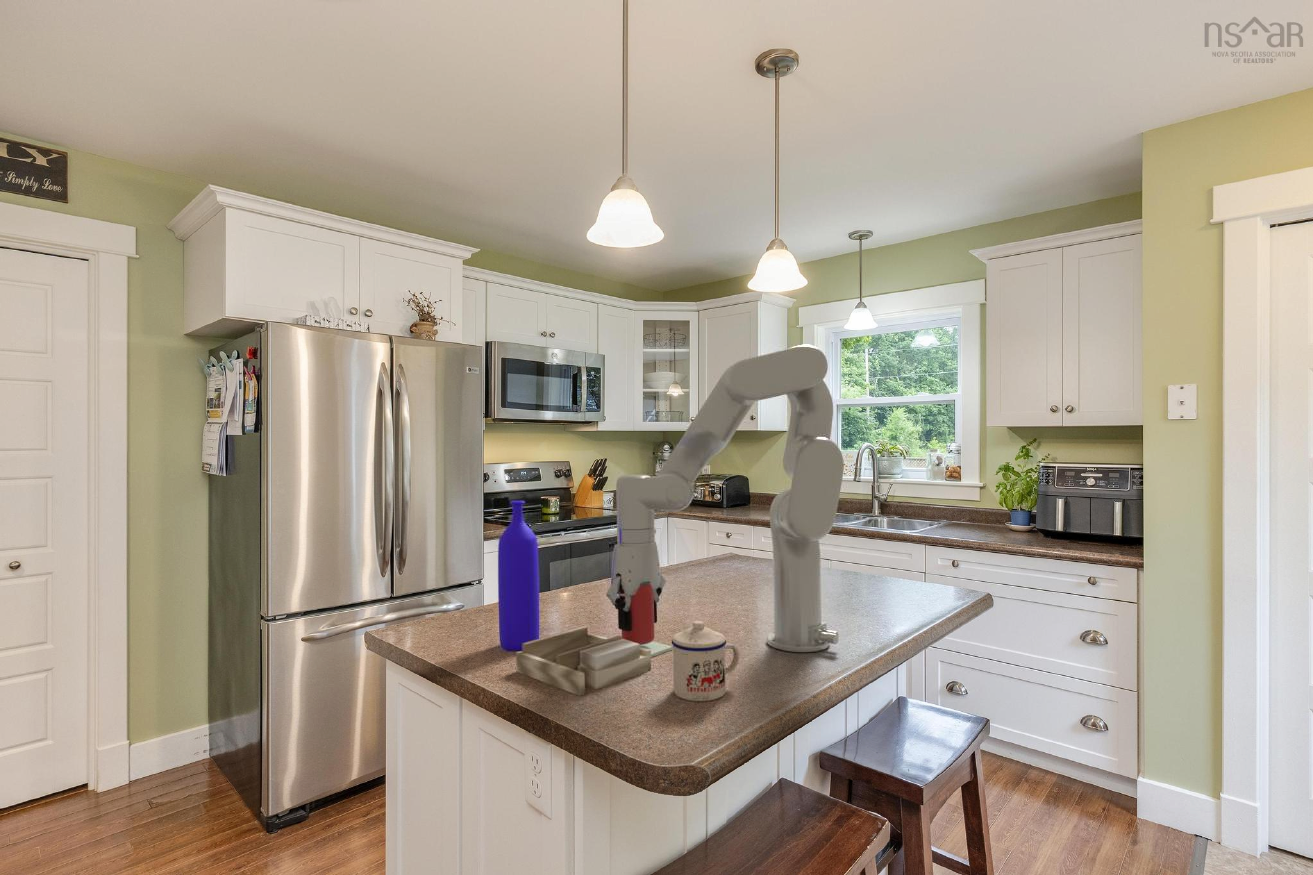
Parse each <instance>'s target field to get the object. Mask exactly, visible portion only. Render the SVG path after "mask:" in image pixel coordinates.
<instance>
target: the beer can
mask: <svg viewBox="0 0 1313 875" xmlns="http://www.w3.org/2000/svg"><path fill="white" fill-rule="evenodd" d="M650 583H651V582H647V583H643V584H640V587H639V588H638V590H637V592H636V594H635V595H634V596H632V600H631V603H630V607H629V610H631V616H632V630H631V631H625V630H621V636H622V639H625V640H629V641H632V642H635V643H638V644H640V645H644V644H648V643H650V642H652V641H653V642H654V640H655V623H654V592H653V588H652V586H651V584H650ZM623 593H624V590H623ZM624 594H625V593H624ZM625 598H626V597H623V602H625Z"/></svg>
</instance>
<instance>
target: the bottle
mask: <svg viewBox="0 0 1313 875" xmlns="http://www.w3.org/2000/svg"><path fill="white" fill-rule="evenodd" d="M525 503H526V502H525V500H511V501H510V502H509V504H510V505H511V506H512V519H511V522H510V523H509V524H508V526H506V528H505V530H504V531H503V532H502V534H501V535H500V537H499V539H498V548H497V549H498V550H497V588H498V589H497V590H498V591H497V593H498V594H497V599H498V600H497V601H498V604H497V605H498V630H499V632H498V634H499V644H500V648H501V650H504V651H507V652H520V651H522V643H526V642H530V641H533V640H537V639H540V571H539V570H540V566H539V565H540V564H539V547H538V546H539V545H538V539H537V536H536V535H535V533H534V532H533V530H532V529H531V528H530V526H528V525H527V523H525V521H524V516H523V507H524V505H525Z"/></svg>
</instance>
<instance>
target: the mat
mask: <svg viewBox="0 0 1313 875" xmlns="http://www.w3.org/2000/svg"><path fill="white" fill-rule="evenodd" d="M640 647H642V648H646V649H649V650H651V658H654V657H656V656H659V655H661V654H665V653H667V652H670V651H673V645H668V644H663V643H661V642H656V641H654V640H653V641H652V642H650V643H648V644H644V645H640Z"/></svg>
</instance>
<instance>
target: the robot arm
mask: <svg viewBox="0 0 1313 875" xmlns="http://www.w3.org/2000/svg"><path fill="white" fill-rule="evenodd" d="M828 367H829V364H828V359H827V357H826V355H825V354H824V352H823V351H822V350H821V349H819V347H816V346H813V345H811V344H801V345H796V346H792V347H789V348H785V349H781V350H778V351H774V352H770V353H766V354H762V355H758V356H753V357H748V358H744V359H741V360H739V361H737V362H735V363H733V364H732V365H730V366H729V367H728V368H726V370H725V371H724V372H723V374H722V375H721V376H720V378H719V379H718V381H717V382H716V385H715V386H714V387H713V389H712V391H711V392H710V394H708V397H707V398H706V400H705V401H704V402H703V404H702V406H701V408H699V410H698V412H697V414H696V416H695V417H694V418H693V420H692V421H691V423H690V425H689V426H688V427H687V429H686V430H685V432H684V433H683V436H682V437H681V438H680V440H679V441H678V443H677V444H676V446H675V447H674V449H673V450H672V452H671V454H670V455H669V456H668V458H667V460H666V461H665V463H664V464H663V466H661V469H660V470H659V472H658V473H657V475H656V476H650V475H648V474H626V475H625V474H624V475H621V476H619V477H618V478H617V480H616V483H615V484H616V487H615V490H616V491H615V492H616V493H615V494H616V533H617V534H616V535H617V539H616V541H617V544H614V546H613V552H612V557H611V568H610V569H611V572H610V586H609V588H608V589H607V591H606V593H605V595H606V597H607V599H609V600H610V601H611V602H610V603H611V604H612V605H613V606H614V609H616V610H617V622H618V624H617V626H618V629H619V630H621V631H622V630H625V631H631V630H632V616H631V610H629V607H630V603H631V600H632V596H634V595H635V594H636V592H637V590H638V588H639V587H640V584H643V583H647V582H651V583H650V584H651V586H652V588H653V592H654V624H657V623H658V604H657V603H659V601H660V596H661V594H662V592H663V589H664V586H665V584H666V582H667V581H666V579H665V578H664V576H662V574H661V567H660V566H661V565H660V557H659V550H658V545H657V542H656V538H655V537H656V536H655V535H656V533H657V530H656V528H655V511H663V512H665V511H666V512H680V511H683V510H684V509H686V508H687V507H689V505H690V504H691V503H692V501H693V498H694V488H693V484H694V483H695V481H696V480H697V478H698V477H699V475H700V474H701V472H702V471H703V469H704V468H705V467H706V466H707V465H708V463H709V462H710V461H711V460H712V459H713V458H714V457H715V456H716V455H718V454H719V453H721V452H722V451H723V449H725V448H726V447H727V445H728V444H729V442H731V440H732V438H733V436H734V435H735V434H736V432H737V430H738V429H739V427H740V425H741V424H742V422H743V421H744V420H745V417H746V415H747V414H748V413H749V412H750V410H751V408H752V407H753V405H754V403H755V402H758V401H763V400H768V399H773V398H776V397H780V396H783V395H786V397H787V398H788V400H789V406H790V417H789V425H788V426H789V427H788V431H787V435H786V436H787V437H786V440H785V447H784V452H783V455H782V456H783V458H782V466H783V469H784V470H783V471H784V472H785V474H786V475H787V476H788V477H789V478H791V480H792V481H791V486H790V488H788V489H784V490H782V491H780V492H779V493H778V494H777V495H776V496H775V497H774V498H773V500H772V502H771V503H770V508H769V525H770V526H769V527H770V531H771V532H770V533H771V540H772V543H771V544H772V560H773V562H772V566H773V568H772V569H773V570H772V572H773V574H772V575H773V612H774V613H773V617H774V618H773V620H774V623H773V624H774V626H773V629H774V630H773V631H772V632H770V633H768V634H767V635H766V642H767V644H768V646H771V647H772V648H774V649H776V650H781V651H786V652H792V653H793V652H794V653H812V652H819V651H823V650H825V649H827V648H829V647H830V645H831V644H832V645H837V644H838V642H839V632H838V631H835V630H829V629H828V628H827V622H825V621H822V580H821V579H822V578H821V577H822V574H821V572H822V571H821V568H822V567H821V565H822V564H821V559H822V558H821V549H820V548H821V547H820V540H822V539H823V538H825V537H826V536H827V535H828V534H829V532H830V531H831V530H832V528H833V526H834V524H835V519H836V517H837V516H836V515H837V511H838V507H839V501H840V496H841V489H842V488H841V487H842V485H843V484H842V483H843V477H844V467H845V466H844V464H845V463H844V458H843V457H844V456H843V453H842V451H841V449H840V447H839V446H838V445H837V444H836V443H835V442H834V441H833V440H832V439H831V435H832V428H833V420H834V403H833V397H832V395H831V392H830V391H831V390H830V389H829V387H828V386H827V384H826V381H825V380H824V379H825V378H826V376H827V373H828V369H829V368H828ZM623 590H624V593H625V594H624V593H623ZM623 597H626V598H625V602H623Z"/></svg>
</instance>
